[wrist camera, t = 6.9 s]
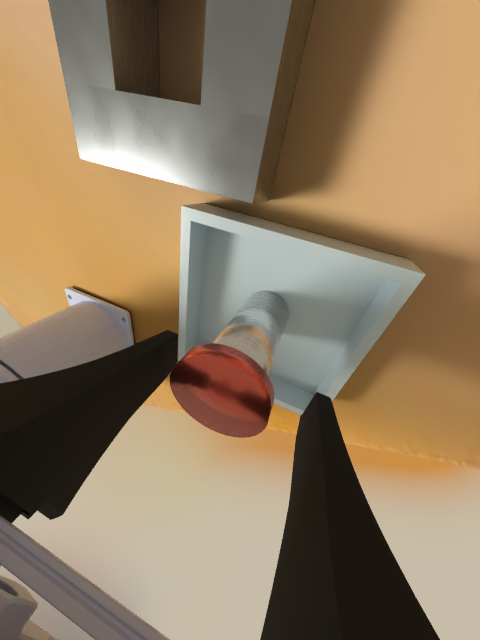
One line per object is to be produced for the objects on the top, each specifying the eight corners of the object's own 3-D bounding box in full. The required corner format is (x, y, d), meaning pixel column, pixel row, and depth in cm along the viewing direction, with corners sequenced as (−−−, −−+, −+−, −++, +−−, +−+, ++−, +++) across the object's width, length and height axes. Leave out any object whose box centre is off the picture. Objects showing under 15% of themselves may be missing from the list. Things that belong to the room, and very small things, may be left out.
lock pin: (287, 345, 16) (255, 451, 9) (233, 326, 17) (171, 410, 10) (307, 293, 13) (282, 389, 7) (242, 274, 14) (167, 342, 8)
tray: (318, 396, 18) (316, 422, 16) (193, 343, 20) (178, 360, 18) (409, 258, 11) (425, 274, 9) (204, 203, 13) (181, 205, 11)
